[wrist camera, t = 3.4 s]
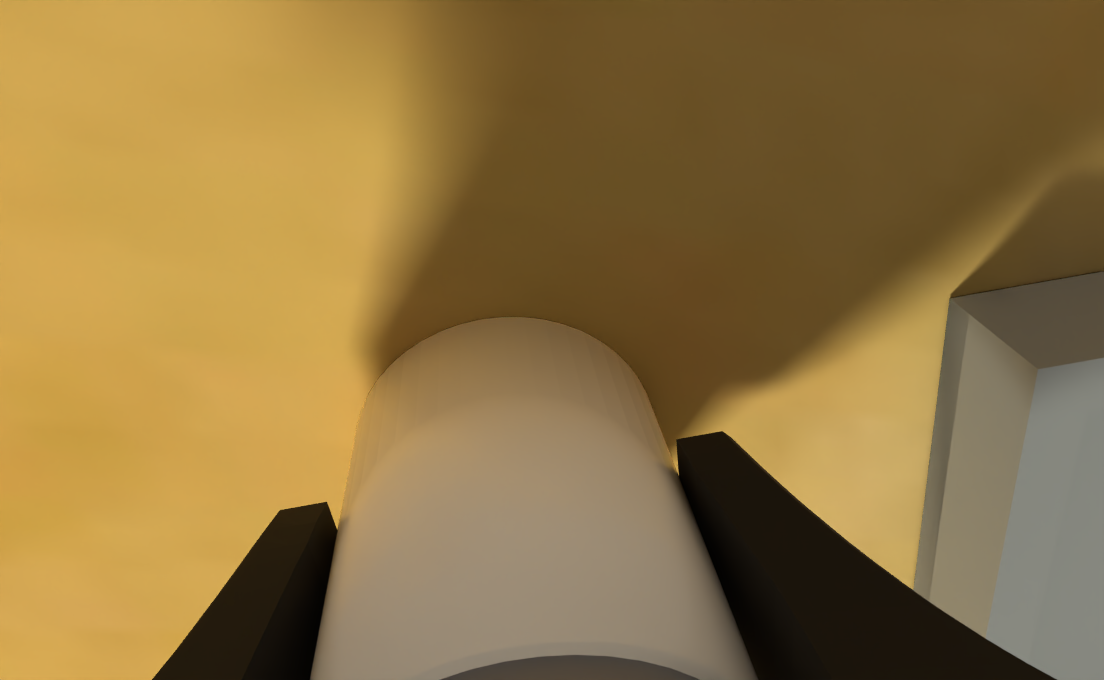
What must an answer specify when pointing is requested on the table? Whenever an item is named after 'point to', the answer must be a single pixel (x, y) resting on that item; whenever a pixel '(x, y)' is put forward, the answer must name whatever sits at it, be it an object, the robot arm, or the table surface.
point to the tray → (1021, 474)
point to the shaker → (519, 523)
